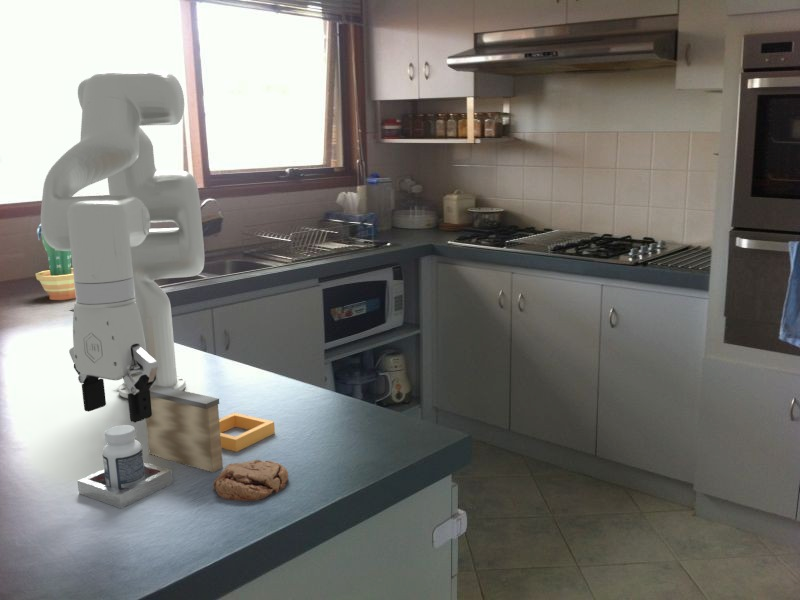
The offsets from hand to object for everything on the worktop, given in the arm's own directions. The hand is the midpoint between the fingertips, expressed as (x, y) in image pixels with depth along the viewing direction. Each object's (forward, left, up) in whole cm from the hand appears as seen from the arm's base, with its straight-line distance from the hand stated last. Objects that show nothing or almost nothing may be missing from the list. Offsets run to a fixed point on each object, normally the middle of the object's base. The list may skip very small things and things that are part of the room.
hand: (117, 413), depth 110 cm
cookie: (+15, +10, -12) cm, 21 cm away
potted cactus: (-132, +82, -12) cm, 156 cm away
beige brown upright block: (0, +11, -11) cm, 16 cm away
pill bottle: (0, 0, -12) cm, 12 cm away
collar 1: (0, 0, -11) cm, 11 cm away
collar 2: (0, +22, -11) cm, 25 cm away
